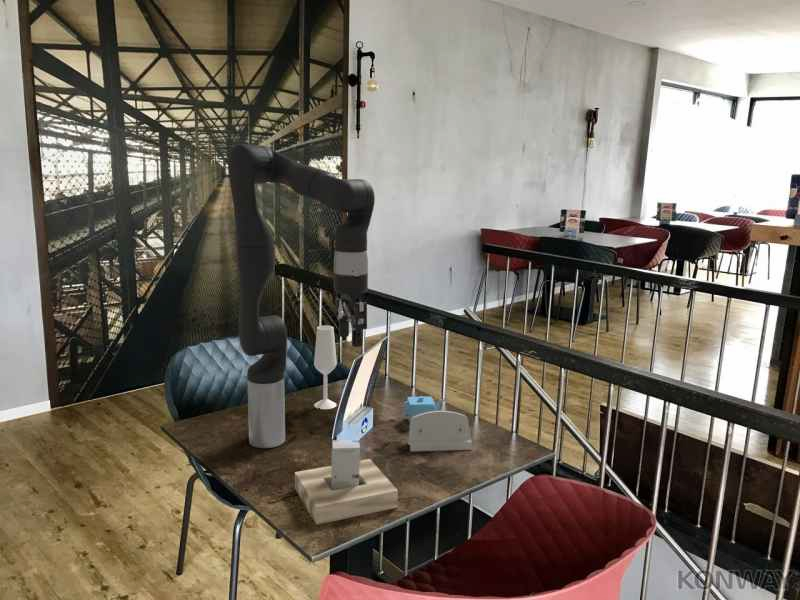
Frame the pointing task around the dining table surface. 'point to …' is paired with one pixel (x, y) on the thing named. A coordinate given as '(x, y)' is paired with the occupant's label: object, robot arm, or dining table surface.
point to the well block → (345, 493)
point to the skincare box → (345, 464)
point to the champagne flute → (325, 360)
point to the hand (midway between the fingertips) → (350, 341)
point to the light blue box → (420, 405)
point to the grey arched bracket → (439, 432)
